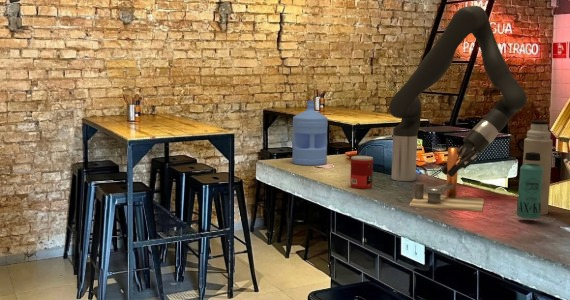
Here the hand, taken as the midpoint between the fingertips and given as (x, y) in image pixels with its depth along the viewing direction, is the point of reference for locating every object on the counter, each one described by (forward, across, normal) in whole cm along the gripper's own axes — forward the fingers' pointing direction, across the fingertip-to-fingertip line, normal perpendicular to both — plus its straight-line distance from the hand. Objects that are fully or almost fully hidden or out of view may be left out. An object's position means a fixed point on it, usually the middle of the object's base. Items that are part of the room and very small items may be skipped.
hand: (446, 173), depth 215 cm
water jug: (+23, -83, -12) cm, 87 cm away
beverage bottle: (0, +34, +13) cm, 36 cm away
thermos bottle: (-6, +23, +19) cm, 30 cm away
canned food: (+21, -25, -9) cm, 33 cm away
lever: (+8, +4, +3) cm, 9 cm away
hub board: (+8, +7, +4) cm, 11 cm away
